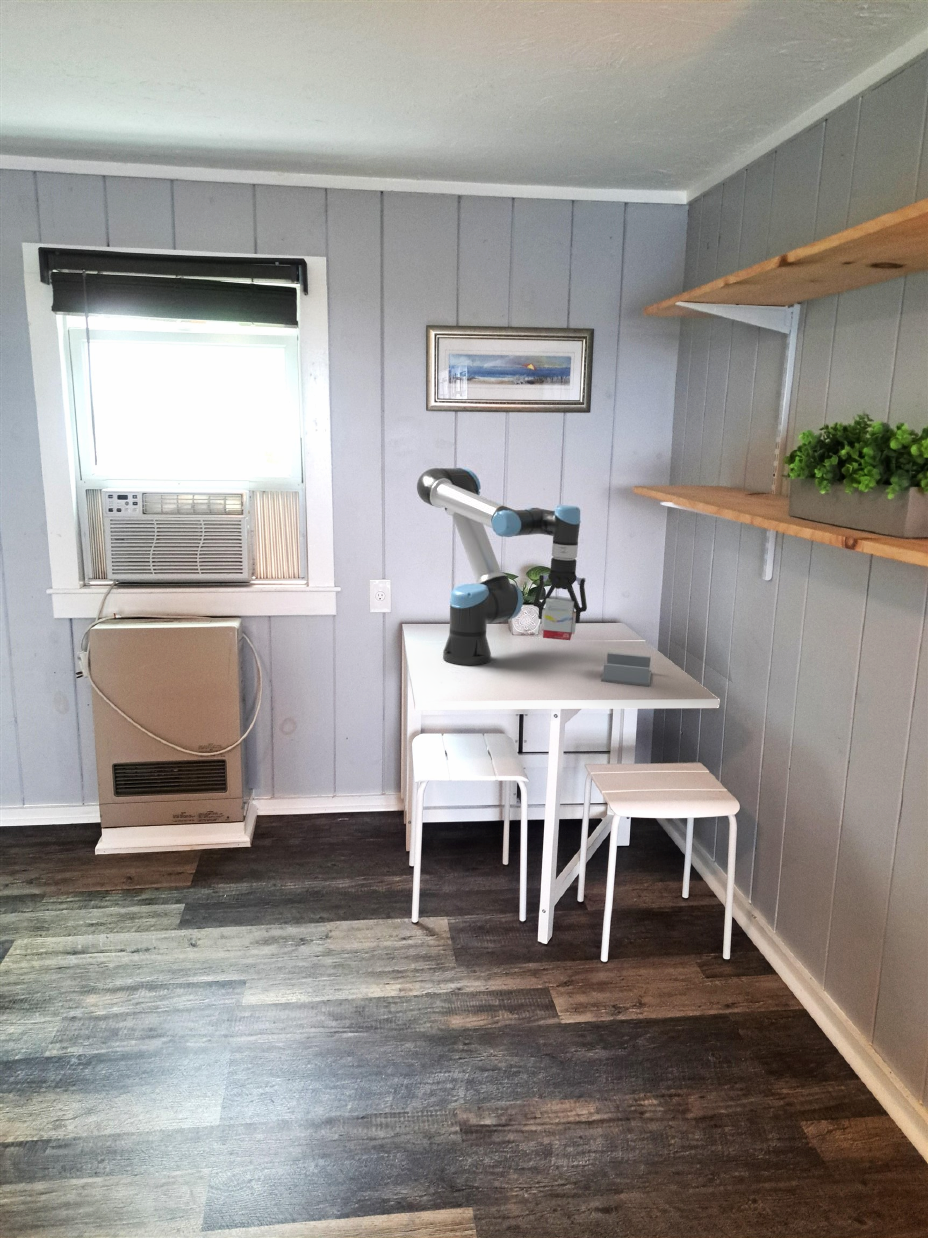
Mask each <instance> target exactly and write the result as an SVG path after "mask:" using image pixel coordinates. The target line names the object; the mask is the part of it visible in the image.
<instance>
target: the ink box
mask: <svg viewBox="0 0 928 1238" xmlns="http://www.w3.org/2000/svg"><path fill="white" fill-rule="evenodd" d="M544 608H545V617H544V628H543V631H542V638H543V639H550V640H552V639H553V640H562V641H571V638H572V635H573V634H572V623H573V613H574V611H575V608H574V601H572V600H571V597H570V596H567V597H566V596H559V595H550V597H549V598H547V599H546V604H545V605H544Z"/></svg>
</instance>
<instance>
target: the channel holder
mask: <svg viewBox="0 0 928 1238" xmlns="http://www.w3.org/2000/svg"><path fill="white" fill-rule="evenodd" d="M606 654H607V655H606V663H605V662H604V664H603V668H602V669H603V672H602V674H601V678H600V682H605V683H614V684H623V685H632V686H643V687H650V684H651V675H652V670H651V669H650V667H651V658H652V657H651V656H649V655H641V654H640V655H639V654H629V653H617V652H607V653H606Z"/></svg>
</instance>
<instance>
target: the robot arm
mask: <svg viewBox="0 0 928 1238" xmlns="http://www.w3.org/2000/svg"><path fill="white" fill-rule="evenodd" d="M480 490H481V481H480V480H479V477H478V476H477V474H476V473H475V472H474V471H472V470H470V468H469V469H468V468H463V467H453V468H447V467H446V468H442V467H440V468H439V467H435V468H430V469H426V470H425V471H424V472H423V473H422V474H421V475H420V476H419V478H418V480H417V483H416V491H417V494H418V496H419V498H420V499H421V501H423V502H424V503H425V504H428V505H429V506H431V507H435V508H436V509H437V508H438V509H442V508H444V511H445V513H446V514H447V515H450V516H451V517H452V519H453V521H454V522H453V523H454V524H455V527H456V530H457V533H458V534H459V537H460V540H461V543H462V547H463V548H464V551H465V554H466V556H467V558H468V559H467V560H468V562H469V564H470V568H471V571H472V573H473V576H474V579H475V581H476V582H475V583H464V584H461V585H457V586H456V587H454V588H453V589H452V590H451V592H450V600H449V633H448V634H449V635H448V638H447V640H446V642H445V643H446V644H445V646H444V649H443V652H442V659H443V660H444V661H445V662H447V663H449V664H450V663H451V664H455V665H462V666H478V665H483V664H488V663H489V662H491V660H492V659H491V658H492V652H491V649H490V645H489V642H488V638H487V628H488V627H487V625H488V624H489V625H490V624H494V623H499V622H500V623H501V622H507V621H509V620H512V619H514V618H516V617H517V616H519V614H520V613H521V611H522V607H523V605H524V604H523V603H524V597H523V593H522V591H521V589H520V587H519V586H517V585H516V584H514V583H511V581H510V578H509V577H508V575H507V574H506V573H503V572H502V571H501V568H500V566H499V563H498V560H497V557H496V555H495V552H494V549H493V547H492V544H491V542H490V539H489V536H488V534H487V531H486V528H485V526H486V527H489V528H491V529H492V531H493V532H494V533H495V534H496V535H497V536H499V537H506V538H512V537H520V536H531V535H544V536H545V535H546V536H551V537H552V547H551V556H552V558H551V560H550V569H549V570H550V571H549V573H548V574H544V573H540V575H539V577H538V579H539V584H538V587H537V590H536V594H535V596H534V600H533V604H532V605H533V606H534V607H537V608H538V618H537V619H538V620H541V622H540V624H541V625H540V631H542V632H543V628H544V617H545V606H546V599H547V598H549V597H550V596H552V594H553V592H554V590H555V589H558V590H559V589H562V590H567V592H568V594H569V598H571V600H572V601H574V608H575V609H574V613H573V623H572V635H575V633H576V627H577V626H576V625H577V624H580V621H581V613H584V612H586V611H587V610H588V606H587V605H588V604H587V597H586V589H585V588H586V587H585V585H586V578H585V577H577V574H576V573H577V571H576V570H577V563H578V561H577V559H576V558H577V557H578V552H579V551H578V548H579V535H580V527H581V509H580V507H579V506H575V505H568V504H564V505H563V504H559V505H556V506H555V509H554V510H552V509H544V508H540V507H526V508H525V509H513V508H511V507H508V506H505V505H503V504H502V503H498V502H496V501H494V500H491V499H488V498H486V497H484V496H482V495H481V491H480ZM547 579H549V581H550V582H551V585H550V587H549V589H548V590H547V592H546V594H545V596H544V598H543V599H542V601H541V602H540V599H541V596H542V592H543V589H544V586H545V582H547ZM575 582H577V585H578V586H579V597H580V603H579V601H578V598H577V595H576V593H575V591H574V587H573V585H574V583H575ZM580 604H581V606H580Z"/></svg>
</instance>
